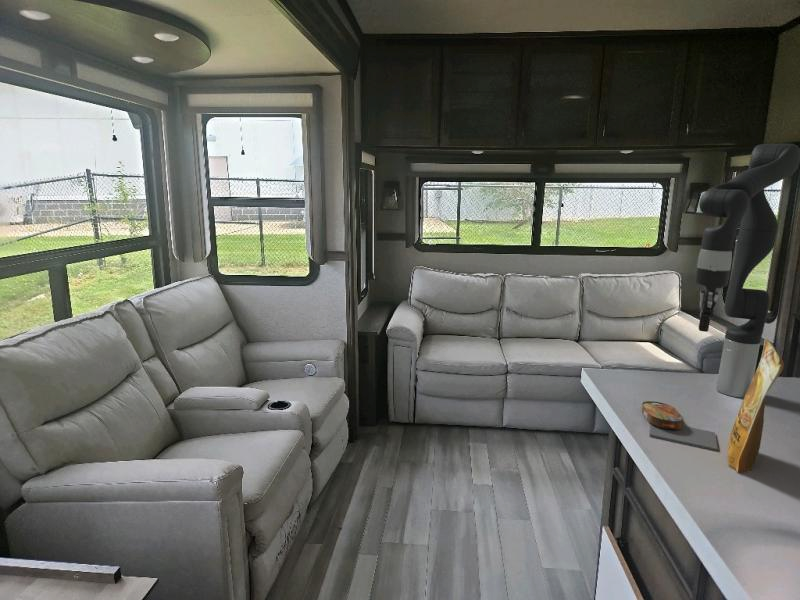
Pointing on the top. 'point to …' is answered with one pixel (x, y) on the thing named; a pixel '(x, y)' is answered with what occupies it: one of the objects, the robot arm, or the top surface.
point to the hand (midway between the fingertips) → (703, 330)
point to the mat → (686, 436)
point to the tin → (662, 415)
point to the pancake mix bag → (753, 412)
